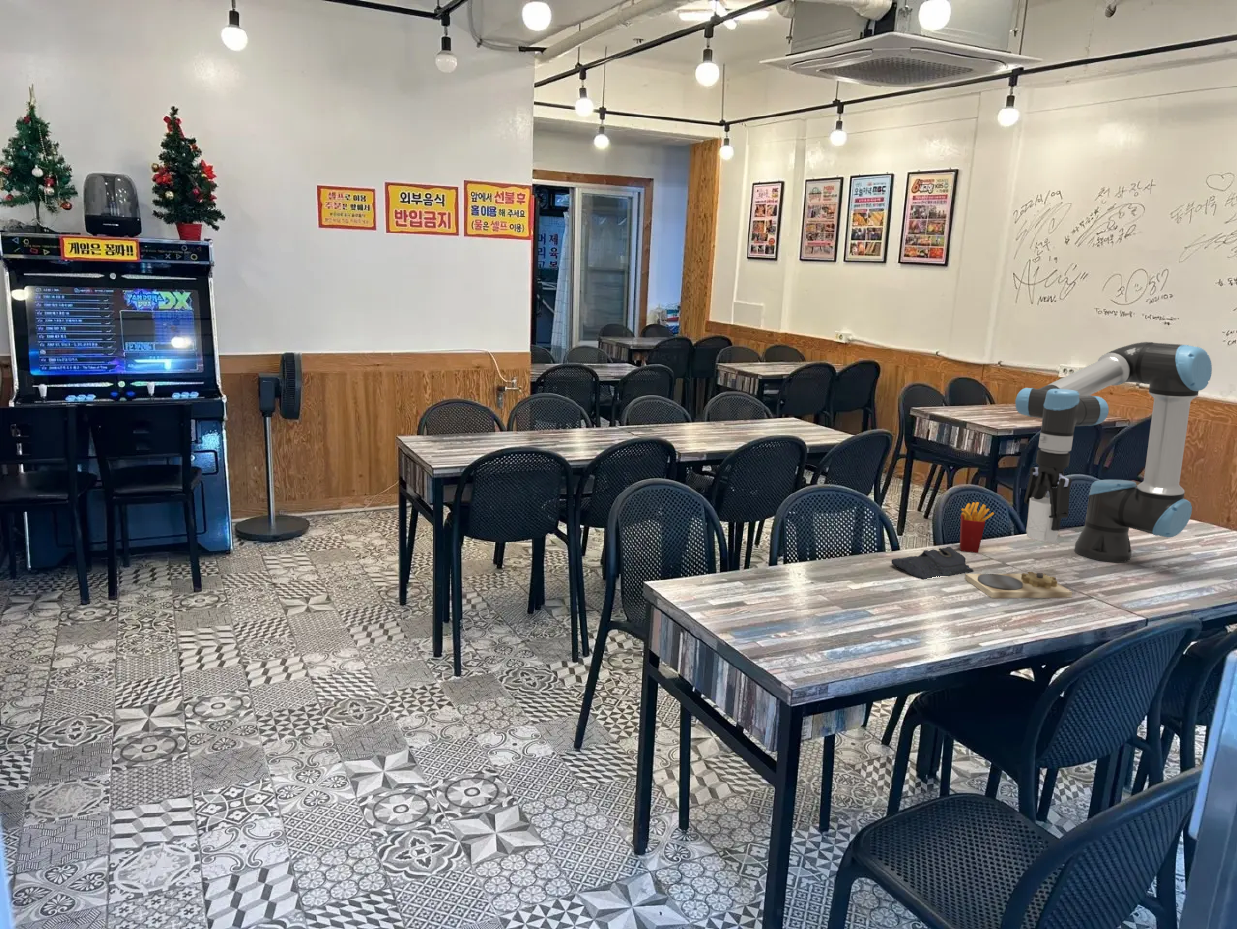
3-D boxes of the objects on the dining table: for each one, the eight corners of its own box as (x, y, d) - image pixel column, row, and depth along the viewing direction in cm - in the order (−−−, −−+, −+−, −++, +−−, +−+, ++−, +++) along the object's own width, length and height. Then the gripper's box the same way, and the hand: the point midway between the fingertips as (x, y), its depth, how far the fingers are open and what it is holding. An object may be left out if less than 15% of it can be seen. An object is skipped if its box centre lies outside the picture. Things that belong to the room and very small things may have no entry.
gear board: (1040, 578, 240) (1042, 565, 239) (1071, 597, 227) (1073, 582, 226) (964, 579, 238) (966, 565, 237) (991, 597, 224) (993, 583, 223)
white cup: (1050, 534, 229) (1056, 497, 227) (1063, 543, 221) (1069, 505, 219) (1019, 532, 229) (1025, 496, 227) (1031, 541, 222) (1036, 503, 219)
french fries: (957, 551, 262) (963, 503, 259) (955, 543, 270) (961, 497, 267) (989, 555, 260) (995, 506, 256) (986, 547, 267) (992, 500, 264)
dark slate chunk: (881, 565, 248) (883, 549, 247) (937, 556, 258) (939, 541, 257) (922, 583, 235) (924, 566, 234) (979, 572, 245) (981, 556, 244)
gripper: (1017, 442, 230) (1005, 525, 235) (1065, 458, 210) (1051, 549, 215) (1043, 442, 231) (1031, 525, 236) (1094, 459, 211) (1079, 549, 216)
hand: (1040, 536), depth 225 cm, fingers closed on white cup, 8 cm apart
